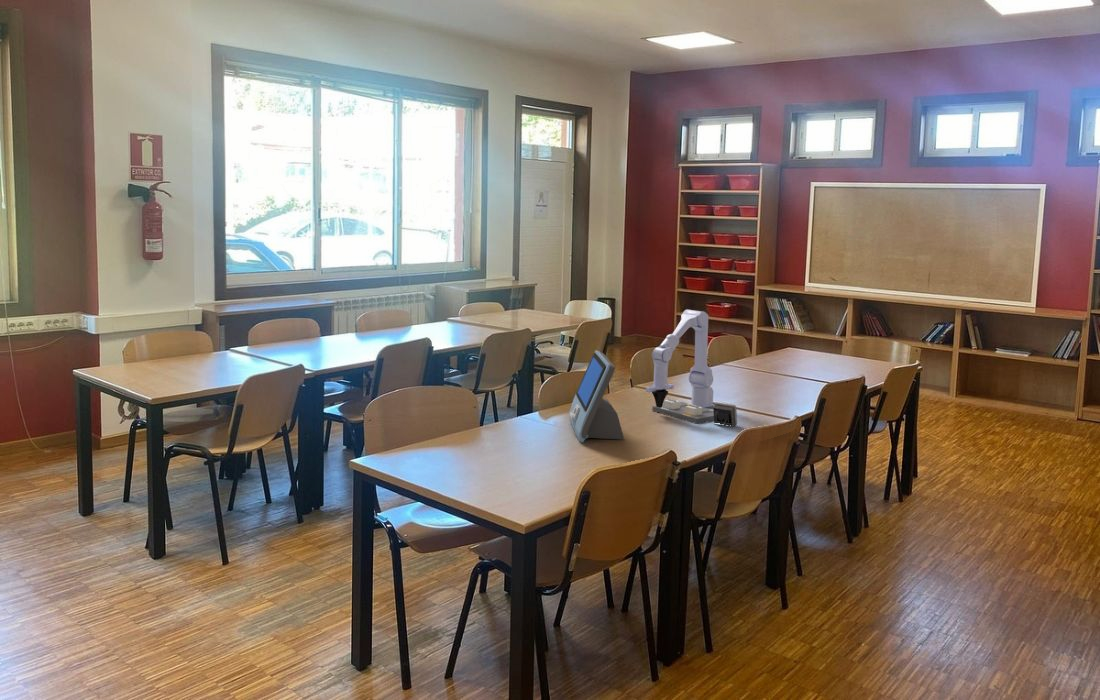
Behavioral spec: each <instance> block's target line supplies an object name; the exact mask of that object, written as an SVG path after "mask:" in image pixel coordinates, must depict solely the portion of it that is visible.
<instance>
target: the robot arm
mask: <svg viewBox="0 0 1100 700" xmlns="http://www.w3.org/2000/svg"><path fill="white" fill-rule="evenodd" d="M680 316H681V317H680V322H679V323H678V324H677V326H676V328H675V329H674V331H673V332H672V333H670V334H667V335H666V337H665V339H664V340H663V341H662V342H661V344H660V345H659V346H657V347H655V348H653V350H652V353H651V359H652V361H653V362H652V363H653V365H654V367H653V384H652V385H651V386H646V387H645V392H647V393H651V394H652V395H653V397H654V402H655V406H656V407H659V408H661V407H662V405H663V402H664V400H666V397H667V396H668V394H669V391H668V390H674V389H675V384H672V383H668V374H669V372H668V370H669V361H670V360H671V359H672V355H673V352H674V351H675V349H676V348H677V346H678V345H679V344H680V339H681V337H682V336H683V335H684V334H685V333H686V331H687V330H688V329H689V328H692V329H693V330H694V332H695V333H694V334H695V335H694V337H695V338H694V365H693V366H692V367H690V371H689V374H688V382H689V383H690V386H692V387H691V403H690V402H689V404H693V405H696V406H700V407H704V408H710V407H711V408H712V407H714V389H713V387H712V385H713V383H714V376H713V370H712V368H711V367H710V366H709V365H708V338H709V337H708V335H709V334H708V333H709V314H708V313H707V312H705V311H704V310H703V311H702V310H701V311H700V310H694V309H693V310H692V309H687V308H686V309H685V310H684V311H683V312H682V313H681V315H680Z"/></svg>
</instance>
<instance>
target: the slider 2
mask: <svg viewBox="0 0 1100 700" xmlns="http://www.w3.org/2000/svg"><path fill="white" fill-rule="evenodd" d="M689 404H690V403H689ZM685 414H689V415H693V416H695V415H701V414H702V407H699V406H696V405H692V404H690V405H689V406H685Z"/></svg>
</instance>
